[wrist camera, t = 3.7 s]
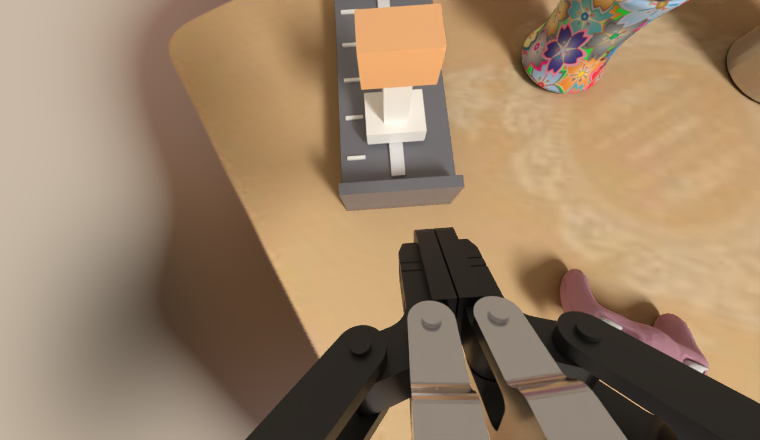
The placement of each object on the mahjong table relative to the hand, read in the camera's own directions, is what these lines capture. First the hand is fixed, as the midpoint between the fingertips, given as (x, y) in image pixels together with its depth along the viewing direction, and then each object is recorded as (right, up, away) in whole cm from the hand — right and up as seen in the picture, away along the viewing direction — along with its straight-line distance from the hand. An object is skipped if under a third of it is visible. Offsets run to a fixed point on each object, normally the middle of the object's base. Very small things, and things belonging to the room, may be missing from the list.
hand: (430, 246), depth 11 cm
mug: (+18, +19, +19) cm, 32 cm away
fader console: (-1, +14, +18) cm, 23 cm away
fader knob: (-1, +10, +14) cm, 17 cm away
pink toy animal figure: (+18, -8, +13) cm, 24 cm away
